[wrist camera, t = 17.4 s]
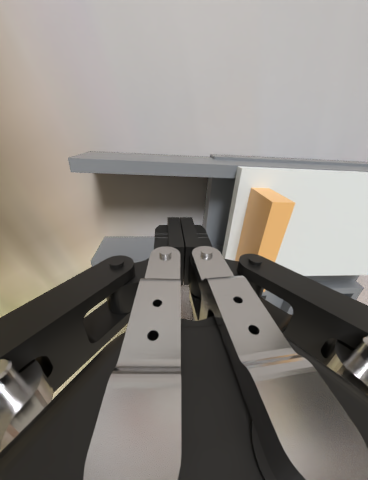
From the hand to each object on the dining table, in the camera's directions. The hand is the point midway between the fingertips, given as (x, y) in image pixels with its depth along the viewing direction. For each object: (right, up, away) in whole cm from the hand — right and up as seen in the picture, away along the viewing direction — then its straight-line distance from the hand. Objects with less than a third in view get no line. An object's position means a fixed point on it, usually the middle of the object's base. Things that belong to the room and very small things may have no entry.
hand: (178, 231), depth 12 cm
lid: (+12, 0, +3) cm, 12 cm away
